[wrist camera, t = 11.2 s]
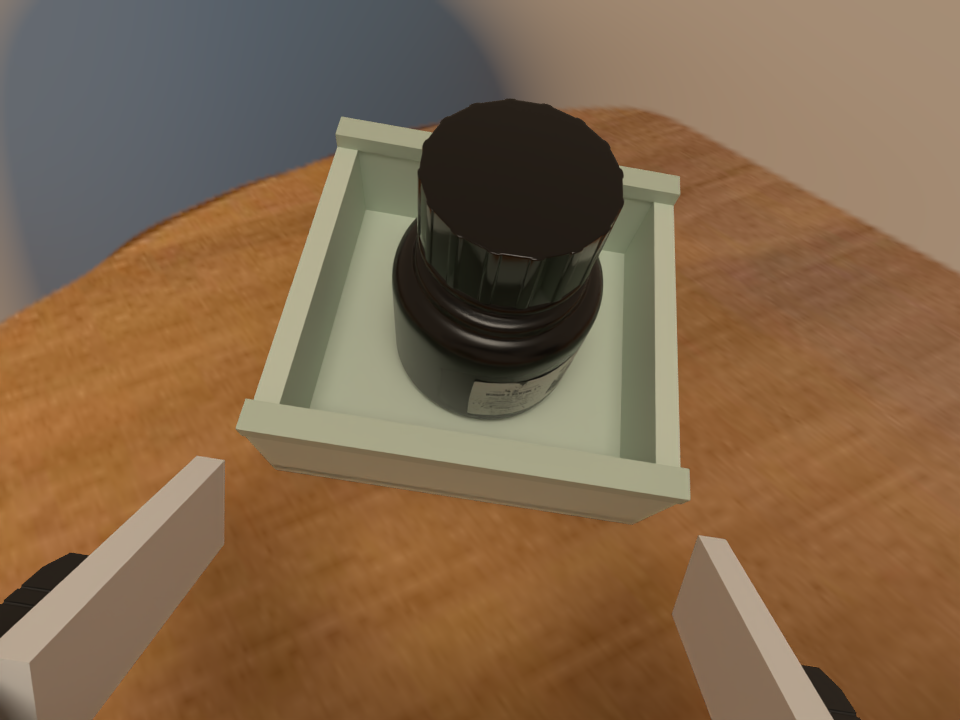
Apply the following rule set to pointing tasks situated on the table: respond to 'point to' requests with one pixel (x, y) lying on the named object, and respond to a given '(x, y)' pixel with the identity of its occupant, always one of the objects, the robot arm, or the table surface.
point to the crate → (444, 434)
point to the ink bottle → (503, 255)
